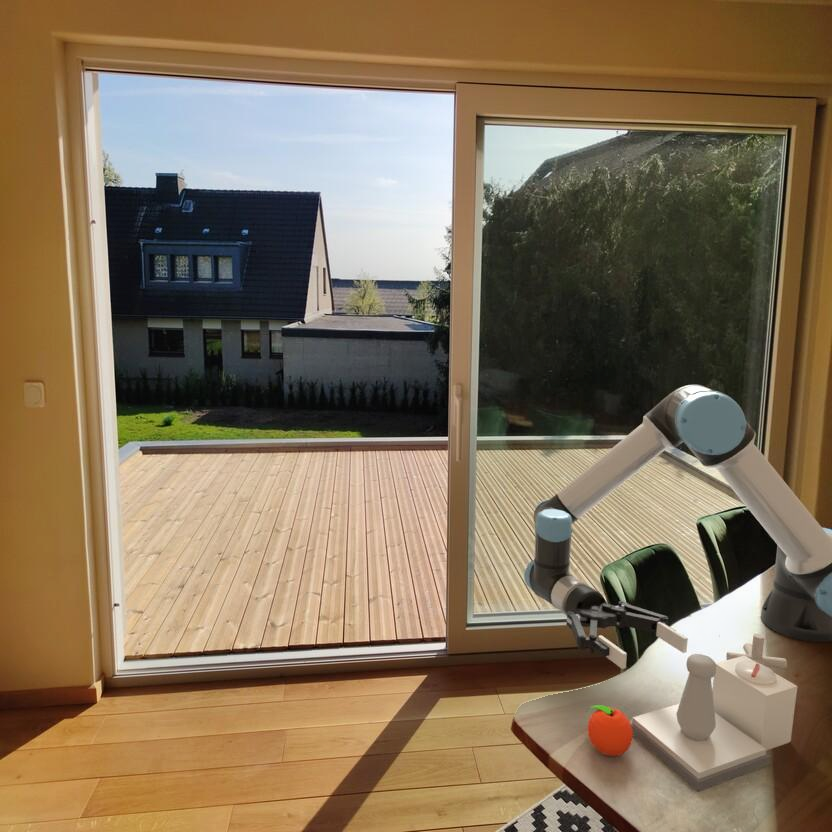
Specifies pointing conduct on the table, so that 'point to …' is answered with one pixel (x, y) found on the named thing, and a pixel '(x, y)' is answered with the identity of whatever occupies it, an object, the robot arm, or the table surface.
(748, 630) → the table surface
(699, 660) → the salt shaker
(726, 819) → the table surface
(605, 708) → the clementine
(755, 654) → the pipe connector
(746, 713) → the dial scale
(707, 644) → the table surface
